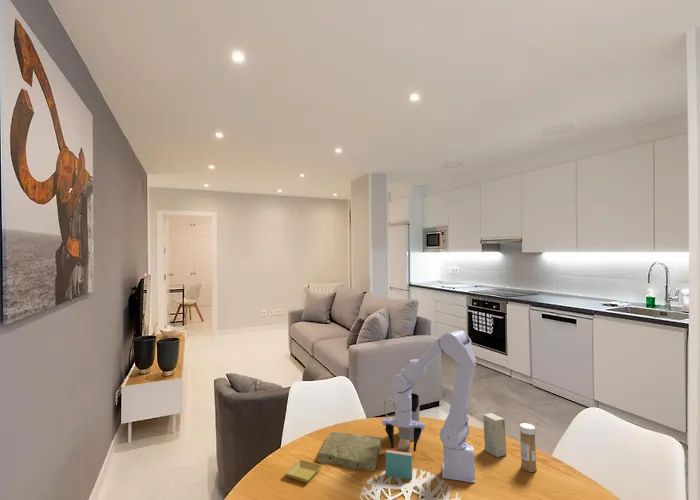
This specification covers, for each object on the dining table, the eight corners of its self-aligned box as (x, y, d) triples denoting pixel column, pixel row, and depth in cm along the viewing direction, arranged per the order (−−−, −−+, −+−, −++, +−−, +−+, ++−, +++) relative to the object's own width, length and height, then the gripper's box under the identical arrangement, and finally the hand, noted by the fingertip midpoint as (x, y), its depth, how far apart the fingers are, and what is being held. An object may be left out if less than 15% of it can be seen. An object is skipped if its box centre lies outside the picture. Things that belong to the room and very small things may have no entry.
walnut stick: (409, 450, 122) (409, 440, 122) (406, 468, 111) (406, 457, 111) (400, 449, 123) (400, 439, 123) (395, 467, 112) (395, 456, 112)
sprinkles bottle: (539, 472, 108) (538, 428, 109) (525, 472, 108) (524, 428, 109) (531, 464, 113) (530, 422, 114) (518, 464, 113) (516, 422, 114)
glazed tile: (412, 476, 106) (412, 453, 106) (411, 479, 104) (411, 455, 105) (386, 472, 108) (386, 449, 109) (385, 475, 107) (385, 452, 107)
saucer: (284, 479, 105) (284, 472, 105) (299, 465, 113) (299, 458, 113) (308, 487, 101) (308, 479, 101) (322, 471, 109) (322, 465, 109)
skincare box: (507, 455, 118) (505, 419, 119) (497, 458, 117) (496, 421, 117) (492, 446, 124) (492, 412, 125) (483, 449, 123) (482, 413, 123)
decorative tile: (329, 439, 131) (329, 429, 131) (382, 444, 127) (382, 434, 127) (315, 466, 112) (315, 455, 113) (375, 473, 108) (375, 461, 109)
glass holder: (422, 441, 128) (422, 400, 129) (384, 440, 129) (384, 399, 130) (418, 430, 137) (418, 392, 138) (383, 429, 137) (383, 391, 138)
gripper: (424, 406, 122) (425, 445, 121) (384, 402, 126) (384, 440, 125) (423, 414, 115) (424, 455, 115) (381, 409, 119) (381, 449, 118)
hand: (403, 448), depth 119 cm, fingers open, 7 cm apart
